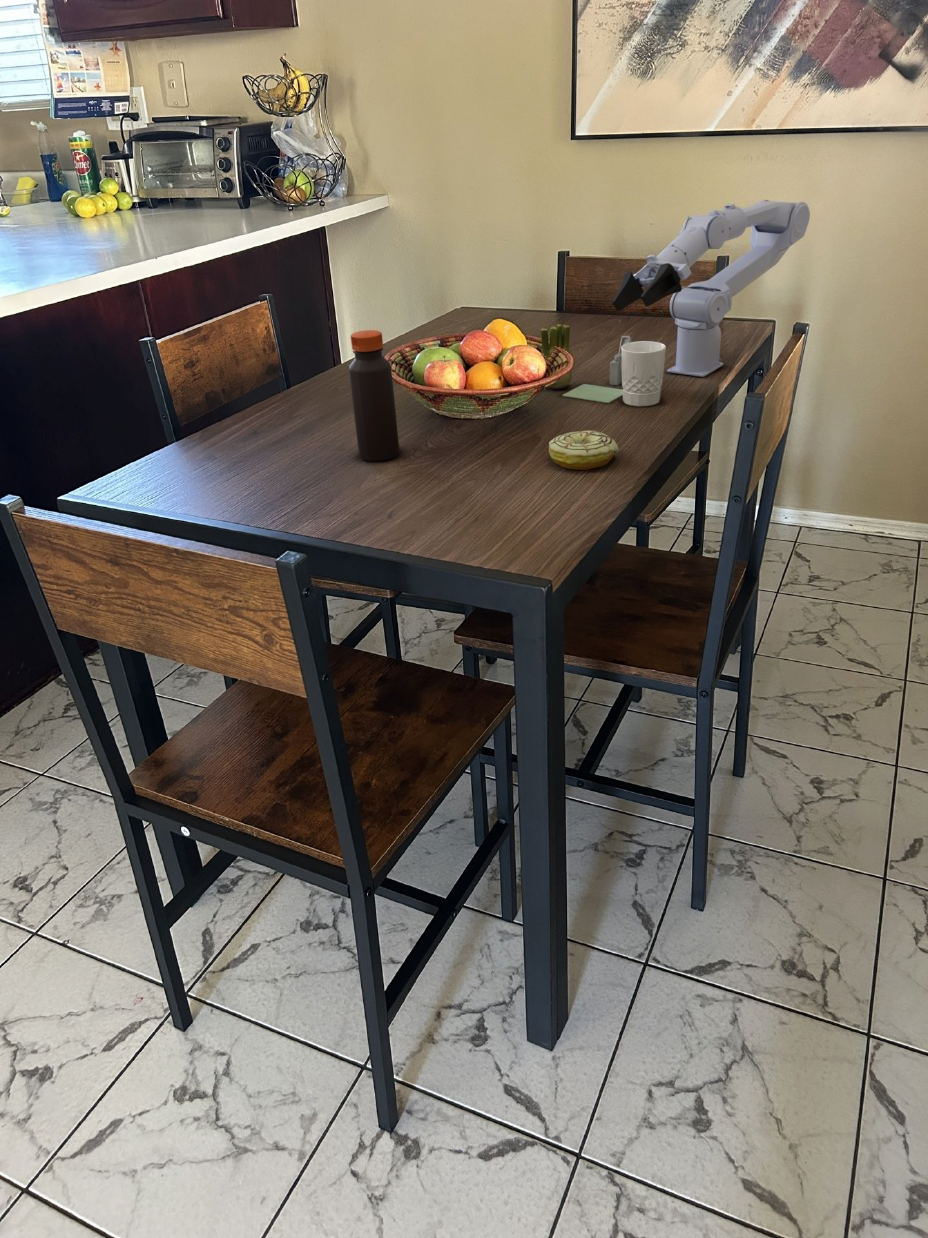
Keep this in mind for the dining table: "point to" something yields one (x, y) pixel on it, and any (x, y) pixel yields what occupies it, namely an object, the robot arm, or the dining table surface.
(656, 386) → the white cup
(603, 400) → the sticky note
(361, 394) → the bottle
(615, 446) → the decorated donut
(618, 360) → the lighter
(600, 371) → the dining table surface
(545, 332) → the fennel bulb
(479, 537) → the dining table surface
